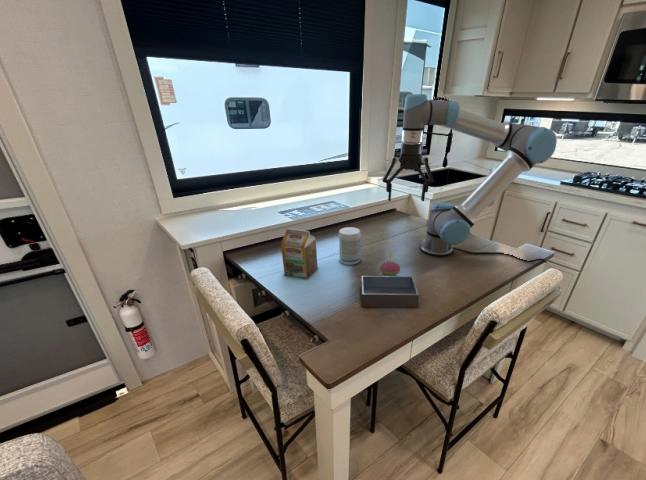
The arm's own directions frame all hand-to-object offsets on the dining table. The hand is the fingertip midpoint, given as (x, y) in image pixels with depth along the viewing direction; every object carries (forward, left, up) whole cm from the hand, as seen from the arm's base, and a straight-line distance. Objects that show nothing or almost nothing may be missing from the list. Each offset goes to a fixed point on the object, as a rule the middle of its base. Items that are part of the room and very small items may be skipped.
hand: (405, 200), depth 131 cm
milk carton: (+44, +9, -29) cm, 53 cm away
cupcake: (+6, +14, -29) cm, 33 cm away
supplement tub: (+23, -2, -29) cm, 37 cm away
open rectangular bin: (+8, +29, -29) cm, 42 cm away
